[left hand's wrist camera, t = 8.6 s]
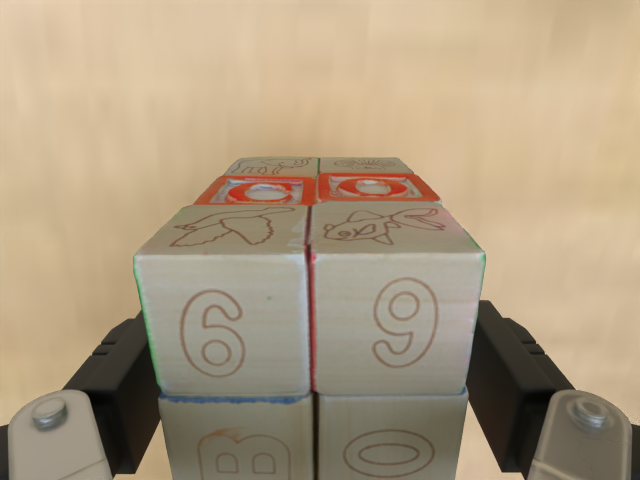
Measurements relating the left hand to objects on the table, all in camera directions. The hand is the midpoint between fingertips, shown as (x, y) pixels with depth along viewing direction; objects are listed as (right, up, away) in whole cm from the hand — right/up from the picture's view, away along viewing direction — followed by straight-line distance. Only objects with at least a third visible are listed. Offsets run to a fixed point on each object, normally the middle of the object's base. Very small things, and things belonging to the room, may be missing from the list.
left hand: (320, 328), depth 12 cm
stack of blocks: (0, -4, +8) cm, 9 cm away
